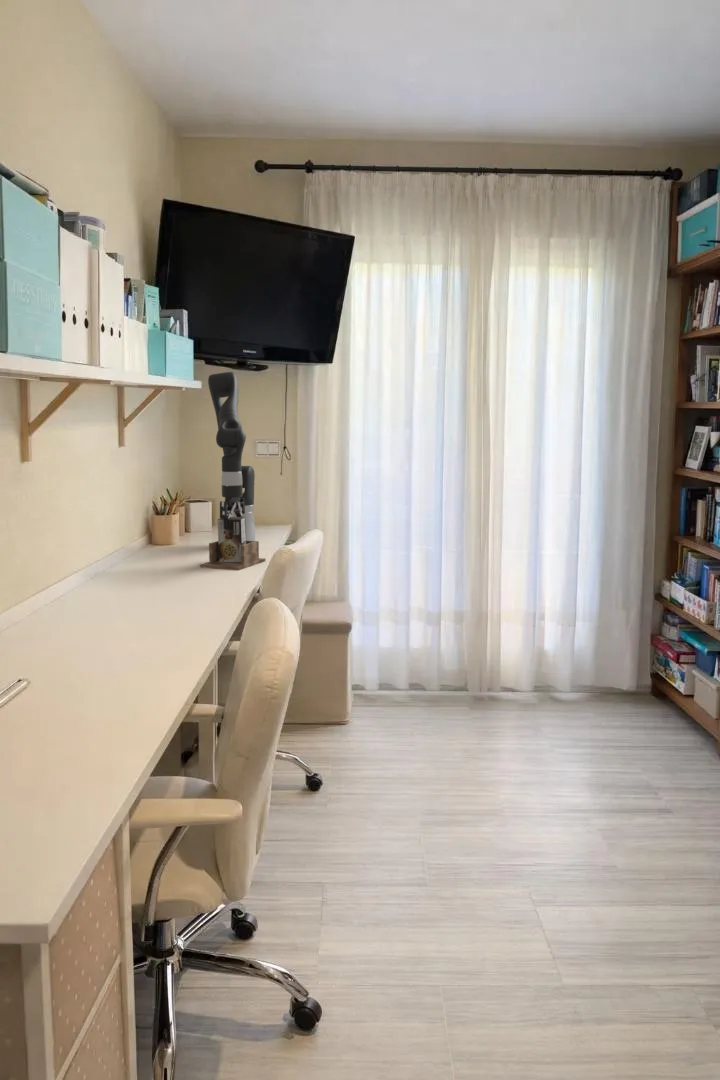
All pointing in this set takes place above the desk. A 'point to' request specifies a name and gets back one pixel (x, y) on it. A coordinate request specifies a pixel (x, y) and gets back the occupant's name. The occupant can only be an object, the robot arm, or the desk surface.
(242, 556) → the holder
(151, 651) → the desk surface
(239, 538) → the coffee box
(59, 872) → the desk surface
